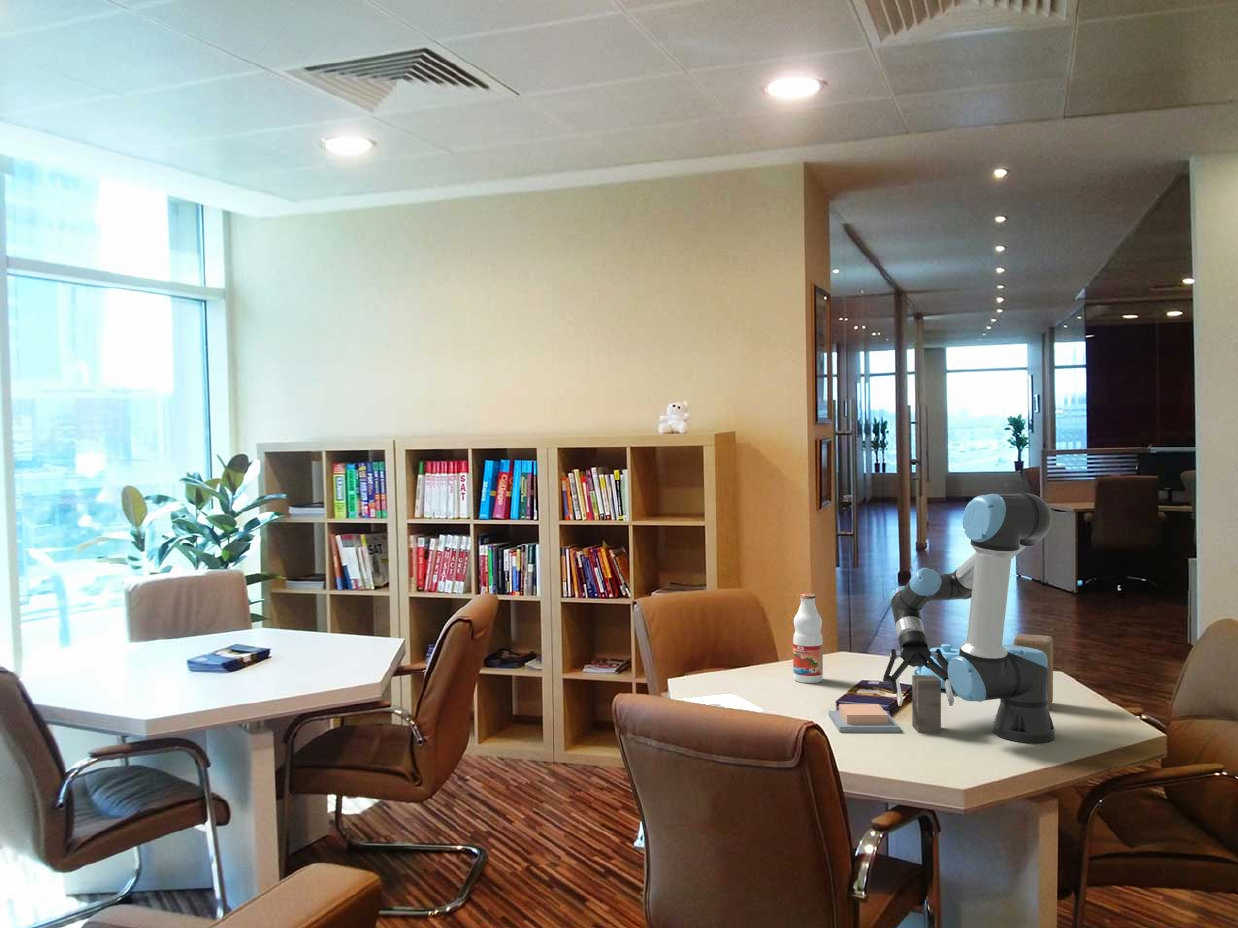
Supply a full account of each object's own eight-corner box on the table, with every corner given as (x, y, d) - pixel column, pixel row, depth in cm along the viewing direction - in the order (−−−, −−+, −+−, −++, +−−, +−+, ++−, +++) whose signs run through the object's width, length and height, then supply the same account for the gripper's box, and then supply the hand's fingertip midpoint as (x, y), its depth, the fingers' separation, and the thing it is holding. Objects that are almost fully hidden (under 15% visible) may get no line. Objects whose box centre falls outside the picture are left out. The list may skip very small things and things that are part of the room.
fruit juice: (828, 680, 324) (828, 594, 323) (811, 685, 317) (810, 597, 317) (805, 675, 331) (804, 591, 330) (787, 680, 324) (787, 594, 324)
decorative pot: (955, 680, 323) (955, 638, 323) (984, 691, 307) (984, 648, 307) (910, 683, 319) (909, 641, 319) (937, 695, 304) (937, 651, 303)
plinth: (828, 715, 282) (828, 701, 282) (885, 715, 282) (885, 701, 282) (839, 732, 266) (839, 717, 266) (899, 732, 266) (899, 717, 266)
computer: (665, 709, 292) (665, 700, 292) (732, 702, 299) (732, 693, 299) (697, 729, 271) (697, 720, 271) (768, 721, 279) (768, 711, 279)
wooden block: (1013, 707, 290) (1013, 638, 289) (1016, 698, 299) (1016, 632, 298) (1050, 711, 285) (1050, 641, 285) (1053, 702, 294) (1053, 635, 294)
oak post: (912, 726, 272) (912, 675, 271) (934, 726, 271) (934, 675, 271) (918, 732, 266) (918, 680, 265) (940, 732, 265) (940, 680, 265)
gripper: (953, 643, 285) (970, 710, 270) (865, 643, 285) (877, 710, 271) (958, 628, 279) (976, 695, 265) (869, 629, 280) (881, 695, 265)
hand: (926, 703), depth 268 cm, fingers open, 13 cm apart
